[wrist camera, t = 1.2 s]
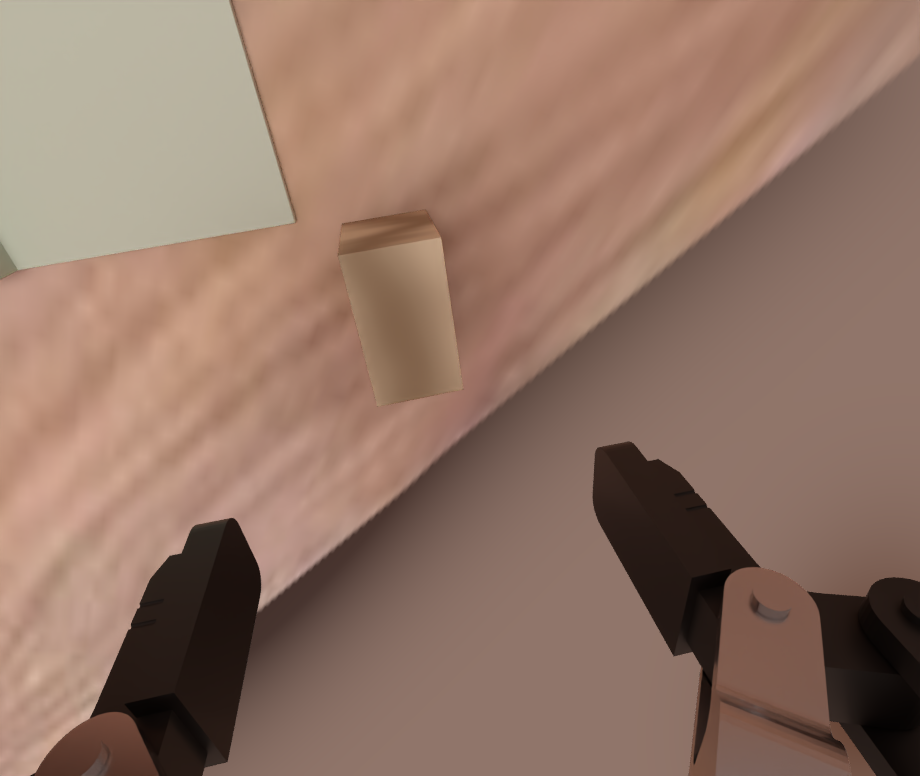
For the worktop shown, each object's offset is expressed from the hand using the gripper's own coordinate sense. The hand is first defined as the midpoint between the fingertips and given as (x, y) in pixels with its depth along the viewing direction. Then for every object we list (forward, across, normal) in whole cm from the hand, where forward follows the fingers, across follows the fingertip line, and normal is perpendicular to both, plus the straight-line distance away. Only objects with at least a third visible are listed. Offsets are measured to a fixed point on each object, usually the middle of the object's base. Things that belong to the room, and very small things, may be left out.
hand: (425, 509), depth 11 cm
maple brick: (+17, 0, 0) cm, 17 cm away
